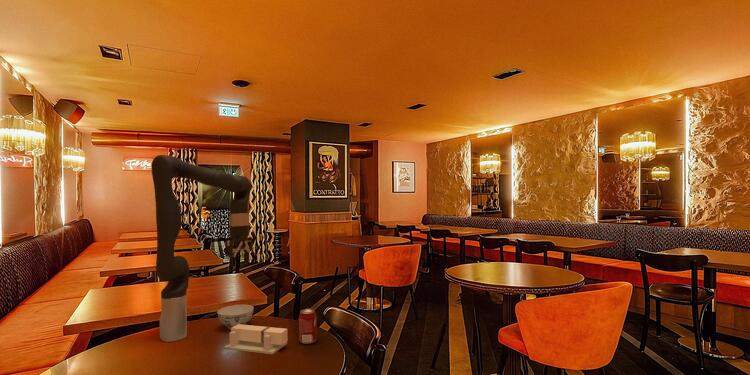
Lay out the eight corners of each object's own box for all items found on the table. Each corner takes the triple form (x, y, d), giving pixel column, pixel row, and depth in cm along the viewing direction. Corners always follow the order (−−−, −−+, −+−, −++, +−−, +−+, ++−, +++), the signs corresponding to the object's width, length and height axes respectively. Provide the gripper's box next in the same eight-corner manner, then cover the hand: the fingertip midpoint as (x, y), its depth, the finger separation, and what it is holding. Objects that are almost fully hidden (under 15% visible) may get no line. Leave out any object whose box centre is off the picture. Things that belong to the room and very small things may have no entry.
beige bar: (231, 339, 146) (231, 327, 146) (238, 335, 150) (238, 323, 150) (281, 345, 139) (281, 332, 139) (287, 340, 143) (287, 328, 143)
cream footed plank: (224, 348, 143) (224, 332, 143) (241, 338, 153) (241, 323, 153) (272, 354, 137) (272, 337, 137) (287, 343, 146) (286, 328, 146)
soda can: (313, 345, 144) (312, 314, 144) (296, 344, 145) (295, 313, 146) (319, 338, 151) (318, 308, 151) (303, 337, 152) (302, 308, 152)
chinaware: (212, 327, 167) (212, 309, 167) (245, 319, 177) (245, 302, 177) (225, 336, 156) (225, 317, 156) (259, 327, 166) (259, 309, 166)
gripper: (242, 223, 161) (243, 261, 161) (219, 226, 148) (220, 267, 148) (257, 223, 159) (258, 261, 159) (235, 226, 146) (236, 268, 145)
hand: (239, 264), depth 153 cm, fingers open, 8 cm apart
